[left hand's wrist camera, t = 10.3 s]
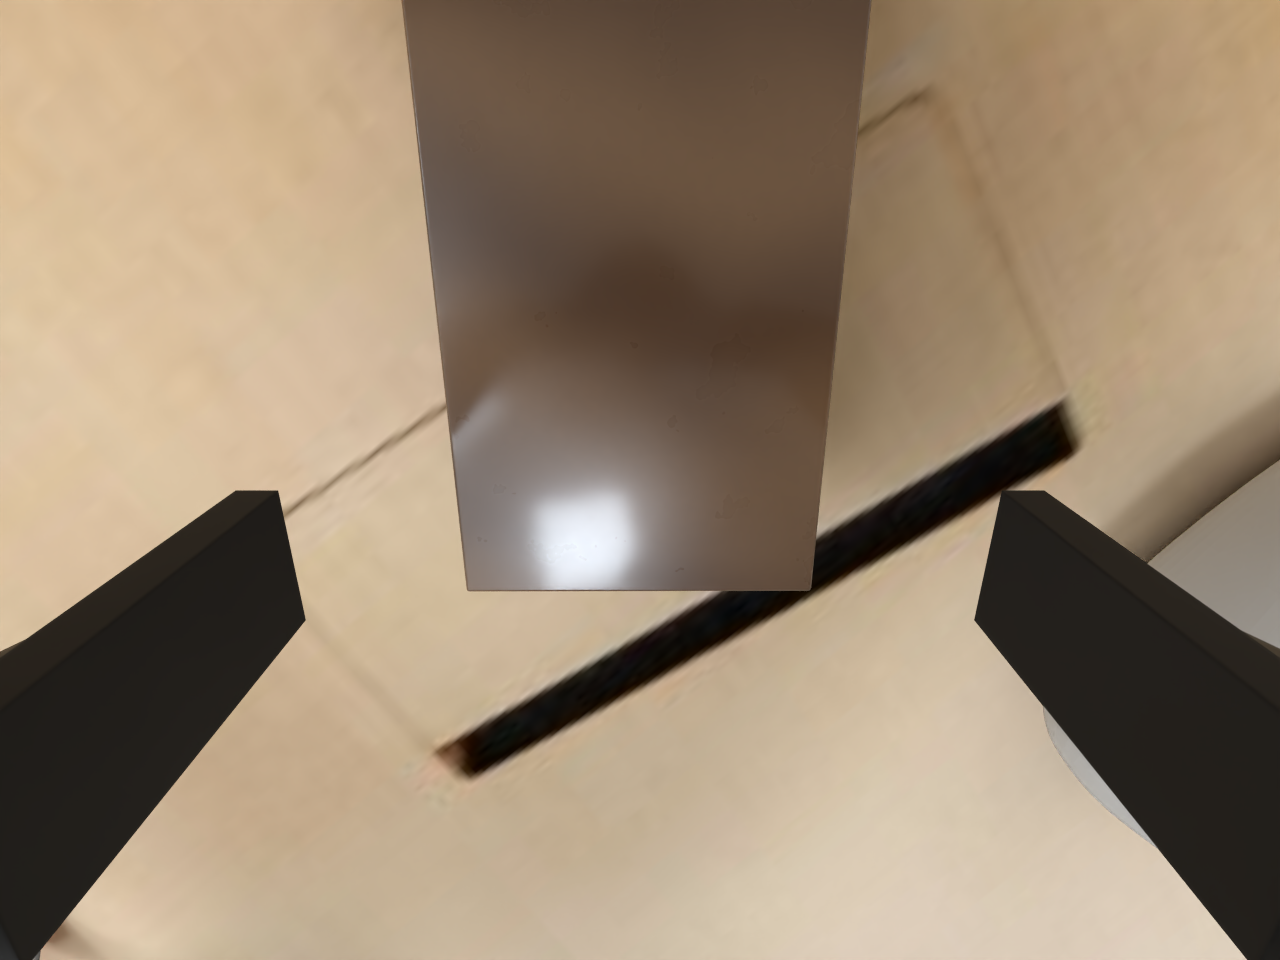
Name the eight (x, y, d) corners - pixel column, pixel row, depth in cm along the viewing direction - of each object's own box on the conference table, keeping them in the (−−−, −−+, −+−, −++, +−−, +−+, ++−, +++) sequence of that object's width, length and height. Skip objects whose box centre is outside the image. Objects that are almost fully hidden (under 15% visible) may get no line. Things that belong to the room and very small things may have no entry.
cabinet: (481, -55, 22) (374, -229, 13) (793, -56, 22) (896, -231, 13) (519, 473, 28) (466, 592, 20) (758, 473, 28) (811, 591, 20)
